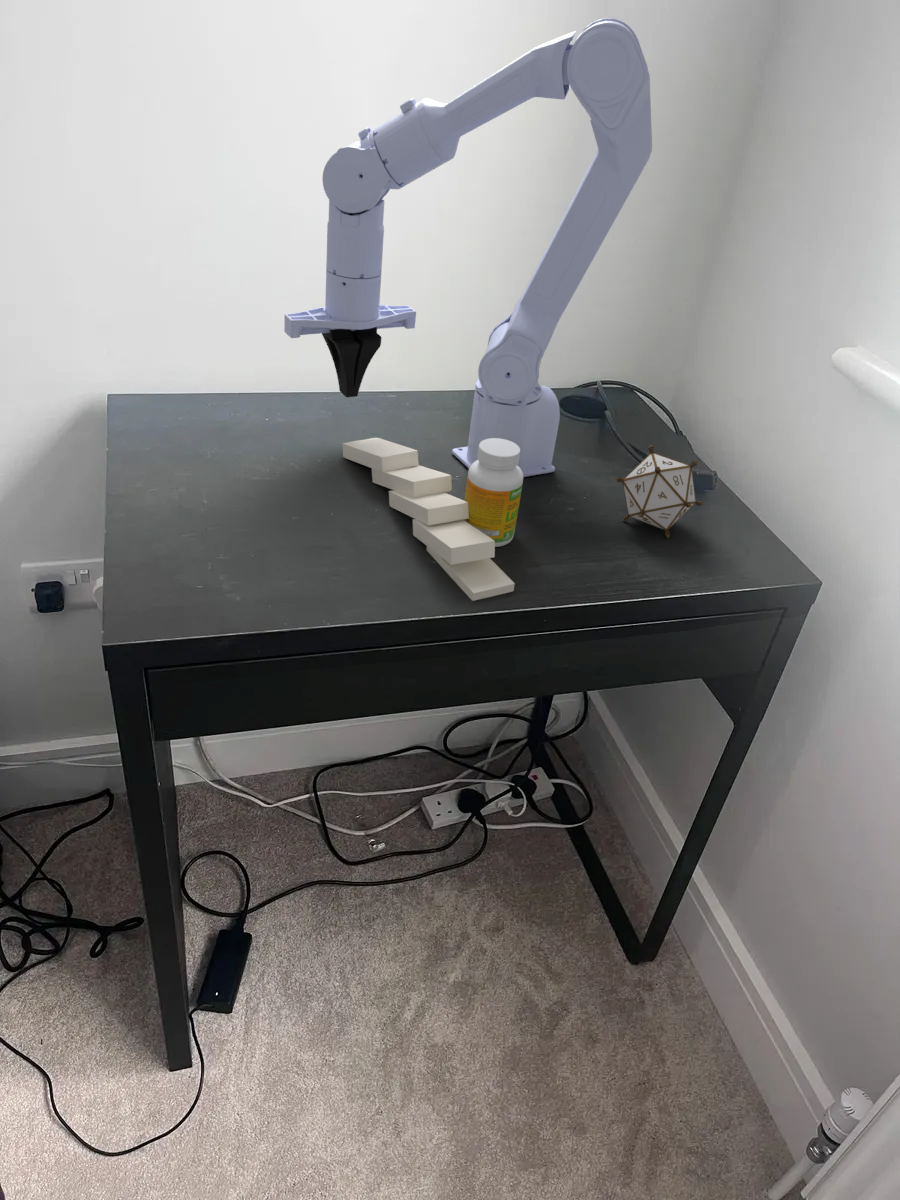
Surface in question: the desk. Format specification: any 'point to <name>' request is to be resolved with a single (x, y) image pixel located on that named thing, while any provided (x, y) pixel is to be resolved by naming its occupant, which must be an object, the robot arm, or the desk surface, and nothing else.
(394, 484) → the domino
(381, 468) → the domino
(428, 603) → the desk surface
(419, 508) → the domino
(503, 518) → the supplement bottle
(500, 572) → the domino
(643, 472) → the game die
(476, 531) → the domino
